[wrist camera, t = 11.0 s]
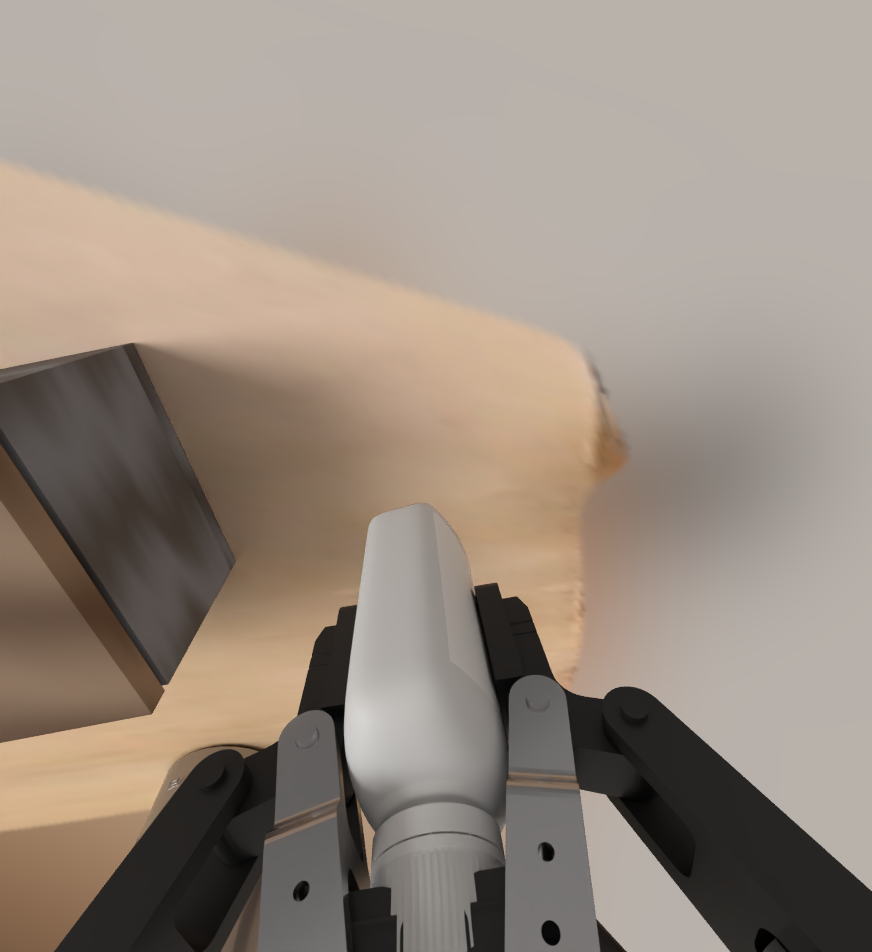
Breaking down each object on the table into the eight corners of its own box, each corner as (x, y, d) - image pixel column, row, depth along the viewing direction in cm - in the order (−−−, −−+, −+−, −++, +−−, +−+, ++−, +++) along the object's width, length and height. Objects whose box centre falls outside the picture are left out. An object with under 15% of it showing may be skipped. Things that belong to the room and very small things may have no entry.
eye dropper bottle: (499, 510, 16) (723, 1064, 5) (459, 632, 18) (546, 1200, 7) (375, 488, 15) (298, 1072, 4) (350, 617, 17) (254, 1222, 6)
